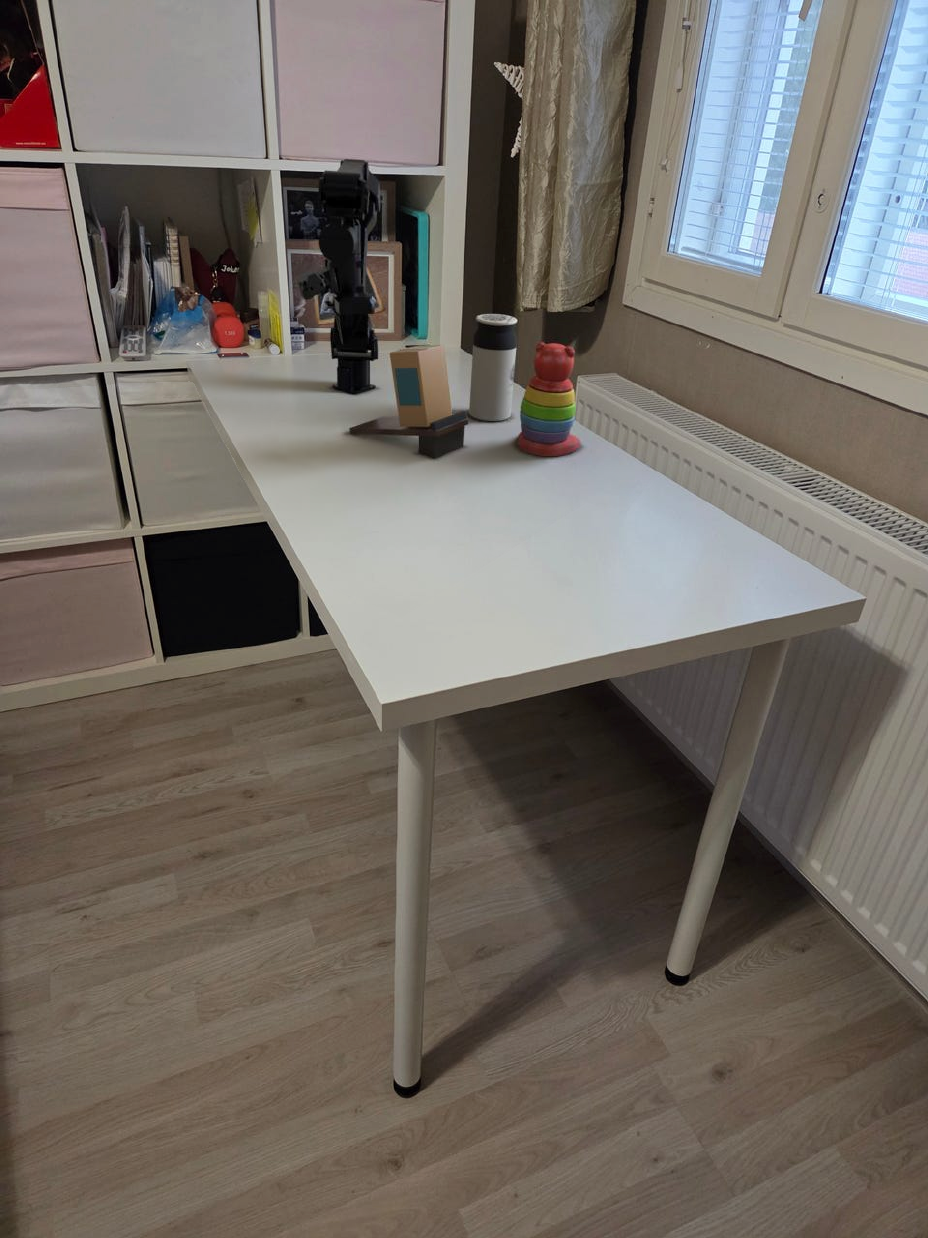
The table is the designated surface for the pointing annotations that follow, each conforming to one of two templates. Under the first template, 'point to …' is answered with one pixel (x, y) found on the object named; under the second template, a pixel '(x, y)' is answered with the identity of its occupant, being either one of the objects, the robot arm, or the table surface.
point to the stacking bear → (549, 404)
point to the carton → (421, 385)
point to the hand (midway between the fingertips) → (345, 344)
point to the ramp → (422, 433)
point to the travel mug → (493, 367)
